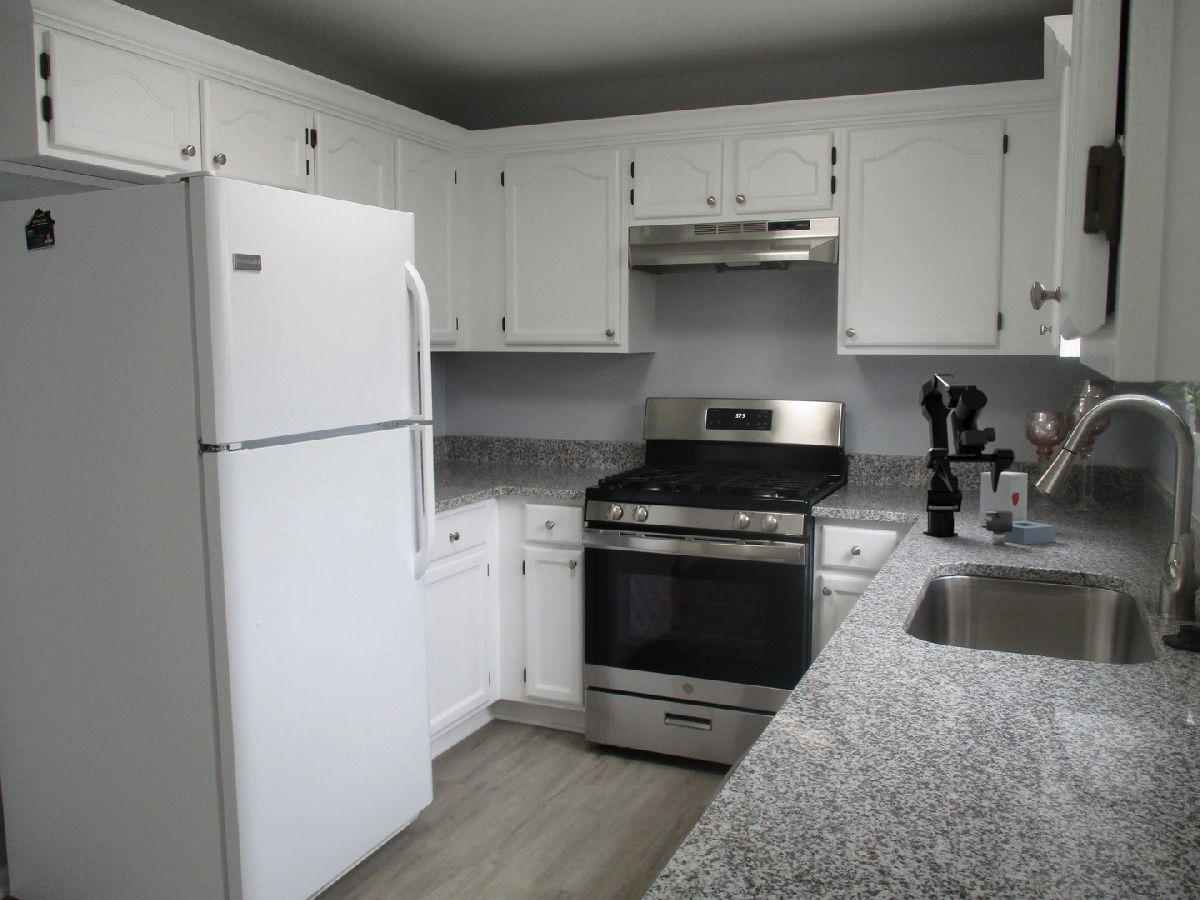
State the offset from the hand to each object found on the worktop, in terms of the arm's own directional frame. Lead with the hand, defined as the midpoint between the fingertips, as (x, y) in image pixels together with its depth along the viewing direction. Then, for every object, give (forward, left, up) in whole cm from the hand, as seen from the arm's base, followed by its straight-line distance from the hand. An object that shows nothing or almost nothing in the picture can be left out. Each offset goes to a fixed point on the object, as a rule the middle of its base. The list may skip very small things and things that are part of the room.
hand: (973, 491), depth 215 cm
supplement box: (-31, +40, -15) cm, 53 cm away
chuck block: (-12, +28, -15) cm, 34 cm away
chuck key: (-10, +18, -15) cm, 26 cm away
